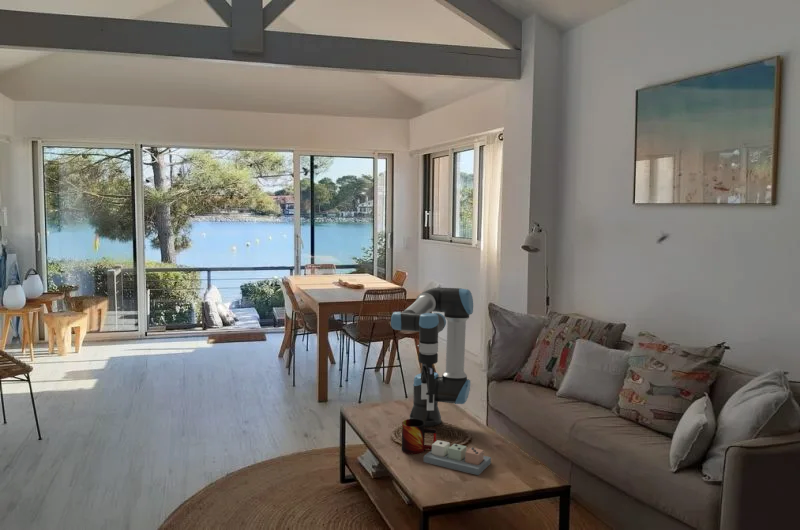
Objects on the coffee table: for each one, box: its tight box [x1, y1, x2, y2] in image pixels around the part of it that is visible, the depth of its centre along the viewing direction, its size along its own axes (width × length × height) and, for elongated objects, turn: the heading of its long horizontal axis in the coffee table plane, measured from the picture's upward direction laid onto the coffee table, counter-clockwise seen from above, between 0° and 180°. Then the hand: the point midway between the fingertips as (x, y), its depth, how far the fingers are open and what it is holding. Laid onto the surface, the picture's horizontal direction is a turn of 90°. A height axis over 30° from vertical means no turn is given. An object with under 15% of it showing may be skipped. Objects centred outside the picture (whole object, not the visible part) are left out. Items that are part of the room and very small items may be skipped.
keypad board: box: [423, 450, 492, 476], centre depth 262 cm, size 13×24×2 cm, turn 60°
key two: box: [448, 443, 467, 461], centre depth 262 cm, size 6×6×4 cm
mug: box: [401, 418, 437, 456], centre depth 274 cm, size 10×14×12 cm
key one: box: [431, 439, 451, 457], centre depth 265 cm, size 6×6×4 cm
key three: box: [465, 447, 485, 465], centre depth 258 cm, size 6×6×4 cm
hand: (427, 404), depth 258 cm, fingers open, 13 cm apart
